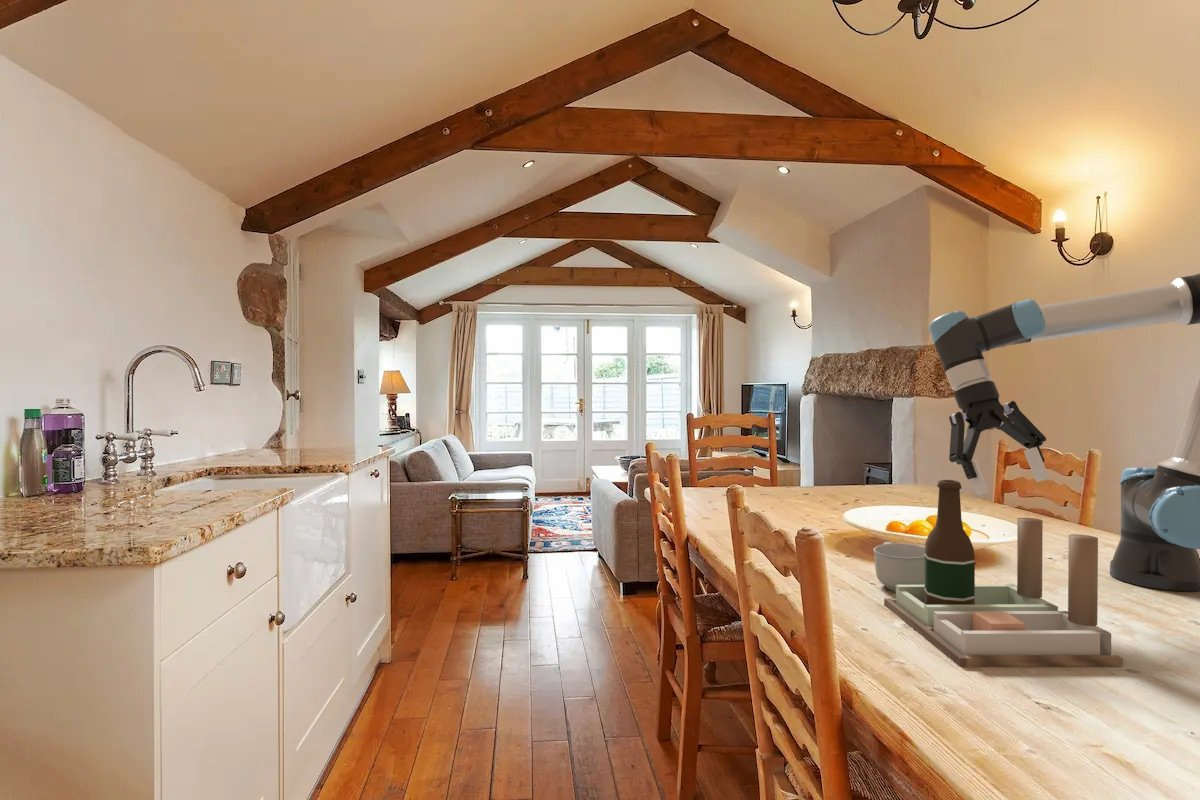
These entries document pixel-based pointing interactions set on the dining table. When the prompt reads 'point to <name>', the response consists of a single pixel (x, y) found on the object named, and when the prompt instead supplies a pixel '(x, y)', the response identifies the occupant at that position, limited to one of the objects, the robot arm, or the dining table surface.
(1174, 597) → the dining table surface
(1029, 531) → the bottle sled
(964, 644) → the tray
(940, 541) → the beer bottle
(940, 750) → the dining table surface
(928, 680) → the dining table surface
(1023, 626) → the terracotta cube
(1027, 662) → the lane rails
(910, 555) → the teacup
